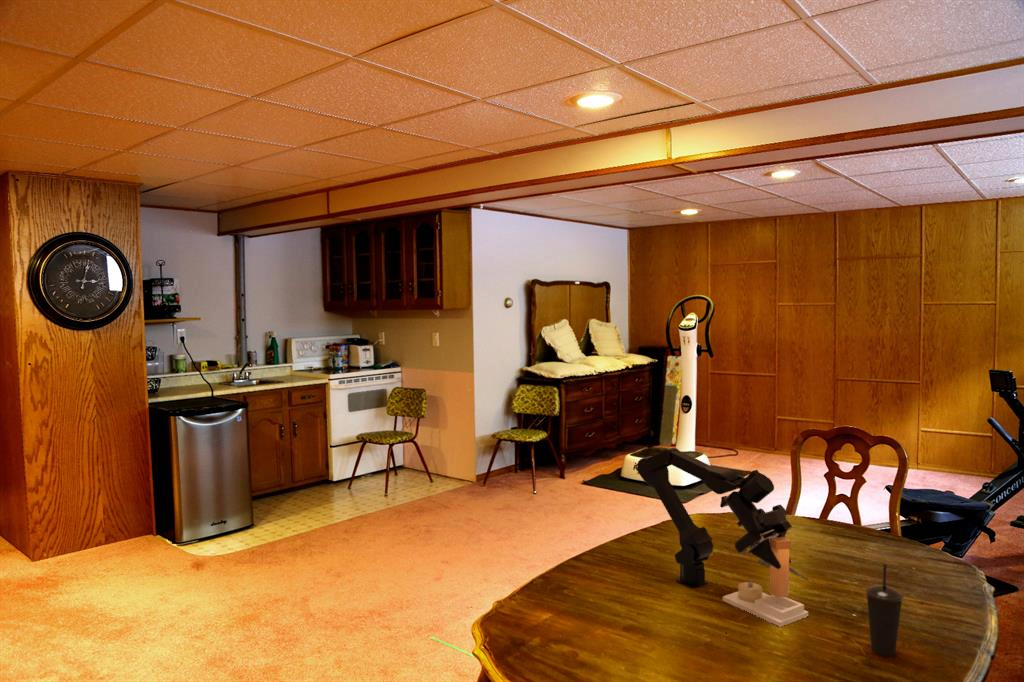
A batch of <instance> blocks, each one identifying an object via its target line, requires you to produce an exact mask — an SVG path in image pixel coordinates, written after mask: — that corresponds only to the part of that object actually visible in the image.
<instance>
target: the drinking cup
mask: <svg viewBox="0 0 1024 682" xmlns="http://www.w3.org/2000/svg"><path fill="white" fill-rule="evenodd" d="M887 569H888V567H887V564H883V565H882V584H875V585H870V586H866V588H865V594H866V600H867V611H868V612H867V613H868V614H867V615H868V623H869V624H868V625H869V636H870V637H869V638H870V648H871V650H872V652H874V653H875V654H877V655H880V656H884V657H893V656H894V655H896V649H897V642H898V633H899V627H900V625H899V624H900V618H901V610H902V603H903V600H904V594H903V592H901V591H900V590H898V589H895V588H893V587H891V586H888V585H887Z"/></svg>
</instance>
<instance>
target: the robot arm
mask: <svg viewBox="0 0 1024 682" xmlns="http://www.w3.org/2000/svg"><path fill="white" fill-rule="evenodd" d="M670 466H673V467H675V468H677V469H679V470H680V471H683V472H686V473H687V474H689V475H691V476H693V477H695V478H697V479H699V480H701V481H702V482H703V483H704V485H705V487H706V488H708V489H709V490H711V491H712V492H714V493H715V494H717V495H723V494H726V493H729V492H730V493H729V495H724V496H721V498H720V499H721V500H720V506H719V507H720V508H726V507H729V509H730V511H731V512H732V513H733V514H734V516H735V517H736V519H737V520H738V522H737V523H736V525H737V526H738V527H741V526H742V527H743V528H744V530H745V531H746V533H745V534H744V535H742V537H741V538H739V539H737V540H736V541H735V542H734V548H735V550H736V551H737V552H738V555H741V554H742V553H745V552H747V549H748V548H750V550H748V552H747V553H748V554H752V555H754V556H756V557H757V558H759V559H762V560H764V561H766V562H767V563H768V564H770V565H772V566H774V567H775V568H777V569H779V568H781V565H780V563H779V561H778V560H777V558H776V556H775V555H774V553H773V552H772V550H771V546H770V538H776V537H785V538H786V535H787V532H788V531H789V530H790V529H792V528H793V526H792V524H791V523H790V522H789V520H787V515H788V511H787V510H786V508H785V507H784V506H782V504H777V505H774V506H772V508H771V509H772V510H770V511H767V512H766V511H764V510H765V509H763V508H757V507H756V505H755V504H759V503H760V502H762V500H763V499H765V498H766V497H767V496H768V495H770V494H771V493H772V492H773V491H774V490H775V486H774V483H773V481H772V480H771V479H770V477H767V475H765V474H763V473H761V472H760V471H759V470H758V469H755V470H751V471H750V473H749V474H748V475H747V476H745V477H744V476H741V475H739V474H738V473H737V472H736V471H734V470H733V469H729V468H725V467H722V466H721V467H720V466H716V465H715V466H714V465H710V464H708V463H706V462H704V461H701V460H700V459H698V458H695V457H693V456H692V455H689V454H687V453H685V452H683V451H681V450H680V449H679V448H676V447H671V448H666V449H663V450H662V451H660V452H658V453H657V454H654V455H652V456H645V457H642V458H640V459H639V460H638V462H637V465H636V471H637V473H638V475H639V476H640V478H641V479H642V480H643V481H644V482H645V483H646V484H648V486H651V488H653V489H654V490H655V492H656V494H657V496H658V498H659V500H660V501H661V503H662V505H663V507H664V508H665V510H666V511H667V513H668V515H669V517H670V519H671V521H672V522H673V524H674V525H675V528H676V530H677V531H678V536H679V545H680V547H681V549H680V550H679V551H677V552H676V553H675V554H674V558H675V561H676V563H677V564H679V568H680V569H679V578H678V577H677V578H676V579H675V582H678V583H680V584H682V585H684V586H686V587H687V588H691V589H695V588H698V587H702V586H705V585H707V584H709V582H708V581H707V580H706V569H705V563H704V561H708V559H709V557H710V556H711V555H712V553H713V550H714V544H713V542H712V540H713V538H712V536H710V535H709V532H708V530H707V529H706V527H705V526H702V527H699V526H698V525H696V524H695V523H694V521H693V520H692V518H691V515H690V514H689V513H688V511H687V509H686V508H685V506H684V504H683V502H682V500H681V498H680V497H679V496H678V493H677V492H676V490H675V489H674V487H673V485H672V483H671V482H670V477H669V474H670V473H669V467H670ZM736 490H738V491H736ZM791 563H792V560H791V557H790V556H789V565H790V564H791Z"/></svg>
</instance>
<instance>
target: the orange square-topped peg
mask: <svg viewBox="0 0 1024 682" xmlns="http://www.w3.org/2000/svg"><path fill="white" fill-rule="evenodd" d="M770 546H771V550H772V552H773V553H774V555H775V556H776V558H777V560H778V561H779V563H780V565H781V568H779V569H777V568H775V567H774V566H772V565H771V564H770V565H771V566H770V569H769V570H770V571H769V574H770V575H769V577H770V578H769V593H770V595H774V596H778V597H787V598H788V596H789V590H790V589H789V588H790V587H789V585H790V581H789V579H790V571H789V568H790V564H789V557H790V549H792V548H791V547H792V540H790V539H788V538H786V536H785V537H776V538H770Z"/></svg>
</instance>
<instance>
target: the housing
mask: <svg viewBox="0 0 1024 682" xmlns="http://www.w3.org/2000/svg"><path fill="white" fill-rule="evenodd" d="M722 601H723V602H724V601H725V603H727V604H729V605H731V606H734V607H735V608H737V607H738V608H737V609H739V608H740V609H739V610H742V611H744V610H745V612H746V611H747V612H746V613H748V612H749V614H750V613H751V615H752V614H753V616H755V615H756V616H755V617H757V618H759V617H760V618H759V619H761V618H762V620H763V619H764V621H765V620H766V622H768V623H769V624H772V623H773V624H772V625H774V624H775V625H774V626H776V625H777V626H776V627H778V626H779V628H781V627H784V625H785V626H786V625H789V624H792V623H795V622H797V620H798V621H800V620H802V618H803V619H805V618H808V617H809V611H807V610H805V604H803V603H801V602H799V601H796V600H793V599H791V598H789V597H788V596H787V597H778V596H774V595H772V594H770V595H769V594H767V593H765V592H763V586H762V585H760V584H758V583H755V582H752V581H744V582H740V583H739V584H738V590H737V591H735V592H732V593H728V594H726V595H723V596H722ZM807 616H808V617H807Z"/></svg>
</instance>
